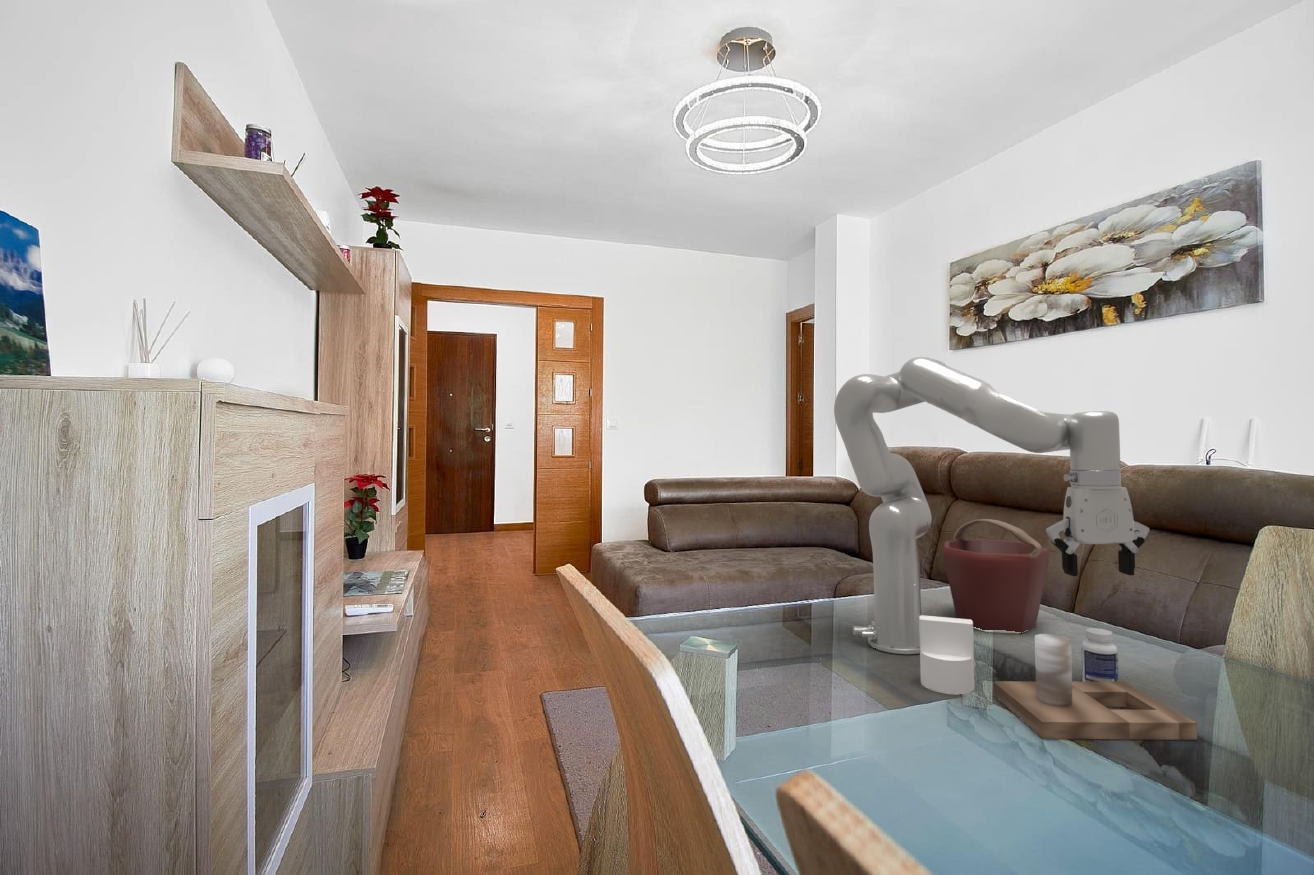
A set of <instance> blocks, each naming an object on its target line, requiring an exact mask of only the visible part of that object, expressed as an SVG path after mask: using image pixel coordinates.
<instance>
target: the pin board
mask: <svg viewBox="0 0 1314 875" xmlns="http://www.w3.org/2000/svg"><path fill="white" fill-rule="evenodd" d="M1034 658H1035V664H1034V665H1035V680H1034V681H1032V680H1030V681H1029V680H1028V681H1026V680H1025V681H1022V680H1021V681H1019V680H1018V681H1017V680H1016V681H1013V680H1012V681H1011V680H1010V681H1007V680H1003V681H1002V680H1001V681H1000V680H999V681H998V680H997V681H993V682H992V689H993V690H992V691H993V694H992V695H995V698H996V699H997V698H998V699H1000V701H1001V702H1002V703H1004V704H1005V705H1006V706H1007V707H1008V708H1010V710H1011V711H1010V710H1009V711H1010V712H1011V713H1012V714H1014V713H1015V714H1016V715H1017V716H1018V717H1020V718H1021V719H1020V718H1019V719H1020V720H1021V721H1022V723H1024V722H1025V723H1026V724H1025V723H1024V724H1025V725H1027V726H1028V727H1029V726H1030V727H1031V728H1032V729H1033V730H1034V732H1035V733H1036V734H1037V735H1038V736H1039V737H1040V738H1041V739H1043V740H1044V739H1045V740H1048V739H1050V740H1051V739H1052V740H1158V741H1160V740H1162V741H1163V740H1164V741H1165V740H1173V741H1175V740H1176V741H1177V740H1178V741H1180V740H1183V741H1185V740H1186V741H1188V740H1189V741H1192V740H1193V741H1197V740H1198V733H1197V731H1198V728H1197V722H1196V721H1194V720H1192V719H1190V718H1189V717H1187V716H1185V715H1183V714H1182V713H1180V712H1178V711H1177V710H1175V709H1173V708H1171V707H1169V706H1168V705H1165V704H1164V703H1162V702H1160V701H1159V700H1157V699H1155V698H1154V697H1152V696H1151V695H1148V694H1147V693H1145V692H1143V691H1141V690H1140V689H1138V688H1136V687H1134V686H1133V685H1131V684H1130V683H1128V682H1126V681H1118V682H1093V681H1083V680H1081V681H1073V676H1072V675H1073V673H1072V672H1073V668H1072V666H1073V665H1072V664H1073V663H1072V640H1071V639H1070V638H1068V637H1066V636H1063V635H1057V634H1052V633H1051V634H1050V633H1039V634H1035V635H1034ZM998 699H997V700H998ZM1000 701H999V702H1000ZM1001 702H1000V703H1001ZM1002 703H1001V704H1002ZM1004 704H1003V705H1004ZM1005 705H1004V706H1005ZM1006 706H1005V707H1006ZM1007 707H1006V708H1007ZM1008 708H1007V709H1008ZM1109 708H1128V709H1109ZM1015 714H1014V715H1015ZM1016 715H1015V716H1016ZM1017 716H1016V717H1017ZM1030 727H1029V728H1030ZM1031 728H1030V729H1031ZM1032 729H1031V730H1032ZM1033 730H1032V731H1033Z"/></svg>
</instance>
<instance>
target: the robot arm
mask: <svg viewBox="0 0 1314 875" xmlns="http://www.w3.org/2000/svg"><path fill="white" fill-rule="evenodd" d="M924 402H925V403H927V404H930V405H932V406H934V407H936V408H939V409H941V410H942V411H945V412H946V413H948V414H950V415H953V416H955V417H957V418H959V419H961V420H962V421H965V422H967V423H968V424H970V425H973V426H975V427H977V428H979V429H980V430H982V431H985V432H987V433H988V434H991V436H994V437H996V438H998V439H1000V440H1003V441H1005V442H1007V443H1009V444H1011V445H1013V446H1015V447H1018V448H1020V449H1022V450H1025V451H1027V452H1029V453H1035V454H1044V453H1053V452H1058V451H1067V450H1068V451H1069V466H1070V469H1069V473H1064V475H1063V481H1064V482H1069V484H1070V486H1068V487H1067V489H1066V493H1065V498H1064V504H1063V515H1062V516H1063V519H1062V520H1060V521H1058V522H1055V523H1054V524H1052V525H1050V526H1049V527H1047V528H1046V529H1045V532H1046V534H1047V536H1048V538H1049V539H1050V541H1051V544H1053V545H1054V547H1056V548H1057V549H1058V551H1059V552H1061V567H1062V570H1063V572H1064V573H1063V574H1065V575H1068V576H1071V577H1077V576H1078V574H1079V572H1078V571H1079V568H1078V566H1079V565H1078V555H1077V553H1075V551H1076V550H1077V548H1079V546H1080V545H1081V544H1084V545H1115V544H1116V545H1118V547H1120V548H1119V549H1121V550H1118V551H1117V555H1118V558H1117V560H1118V572H1119V573H1121V574H1125V575H1128V576H1134V575H1135V568H1136V559H1135V558H1136V553H1138V552H1139V548H1141V547H1142V545H1143V544H1144V543H1146V542H1145V539H1146V538H1147V536H1148V534H1149V532H1150V527H1148V526H1147V525H1144V524H1142V523H1140V522H1138V521H1135V520H1134V514H1133V513H1134V512H1133V508H1132V502H1131V499H1130V495H1129V492H1128V489H1127V487H1126V486H1124V487H1123V486H1122V474H1121V472H1122V470H1121V469H1122V468H1121V442H1120V439H1121V437H1120V420H1119V416H1118V414H1117V413H1115V412H1113V411H1109V410H1108V411H1107V410H1105V411H1103V410H1101V411H1082V412H1076V413H1073V414H1068V413H1067V414H1066V413H1055V412H1054V413H1053V412H1044V411H1042V410H1039V409H1037V408H1036V407H1033V406H1030V405H1028V404H1025V403H1023V402H1020V401H1018V400H1015V399H1014V398H1012V397H1009V396H1007V395H1005V394H1003V393H1001V392H999V391H997V390H996V389H995V388H994V387H993V386H992V385H991V384H989V383H988V382H987V381H984V380H982V379H980V378H978V377H974V376H973V375H970V374H967V373H964V372H963V371H960V370H957V369H956V368H953V367H951V366H949V365H947V364H946V363H945V362H943V361H941V360H938V359H934V358H930V357H926V356H917V357H914V358H911V359H909V360H907V361H906V362H904V364H903V365H902V367H901V368H900V370H899V371H898V372H895V373H894V372H893V373H891V374H888V375H885V376H883V375H877V374H870V373H869V374H868V373H865V374H864V373H862V374H858V375H855V376H853V377H851V378H850V379H848V380H847V381H846V382H845V383H844V384H843V385H842V387H840V389H839V391H838V392H837V395H836V397H835V400H834V408H833V414H834V420H835V423H836V426H837V429H838V432H839V434H840V437H841V439H842V442H843V444H844V447H845V450H846V454H847V456H848V458H849V461H850V464H851V466H852V469H853V472H854V475H855V478H856V480H857V482H858V485H859V487H860V489H861V490H862V491H863V492H864V493H865V494H866V495H868V496H870V497H875V498H876V497H878V498H879V497H881V500H882V503H881V504H879V505H878V506H877V507H876V508H875V509H874V510H873V511H872V513H871V515H870V518H869V520H868V521H869V522H868V523H869V524H868V529H869V530H868V532H869V538H870V543H871V550H872V551H871V552H872V562H873V564H872V565H873V566H872V567H873V568H872V569H873V570H872V571H873V593H874V594H873V595H874V598H873V599H874V600H873V601H874V605H873V606H874V620H871V621H870V624H867V625H866V626H862V625H853V626H852V634H853V636H861V638H867V643H868V645H869V644H870V645H871V646H870V645H869V646H870V647H872V648H873V649H875V648H876V649H875V650H878V651H881V652H884V653H889V654H895V655H896V654H898V655H918V654H920V631H919V617H920V616H921V615H922V602H921V601H922V600H921V595H922V594H921V566H920V565H921V564H920V556H919V555H920V554H919V550H918V545H917V539H918V538H921V537H923V536H924V535H925V534H927V532H928V531H929V530H930V528H931V526H932V522H933V521H932V512H931V508H930V506H929V503H928V500H927V499H926V496H925V493H924V491H923V489H922V486H921V483H920V480H919V479H918V476H917V474H916V471H915V469H914V468H913V466H912V464H911V463H910V461H909V460H907V459H906V458H905V457H904V456H902V455H900V454H897V453H893V452H890V450H889V447H888V445H887V443H886V440H885V438H884V435H883V432H882V430H881V429H880V427H879V425H878V424H877V422H876V419H874V414H875V413H877V414H886V413H891V412H895V411H897V410H902V409H904V408H909V407H911V406H915V405H918V404H919V405H920V404H922V403H924ZM1062 531H1063V536H1064V537H1065V538H1064V539H1061V536H1060V532H1062Z"/></svg>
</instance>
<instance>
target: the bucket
mask: <svg viewBox="0 0 1314 875" xmlns="http://www.w3.org/2000/svg"><path fill="white" fill-rule="evenodd" d="M981 523H982V524H983V523H987V524H991V525H994V526H995V527H998V528H1001V529H1003V530H1004V531H1007V532H1009V533H1011V535H1013V536H1014V537H1015V538H1016V539H1017V540H1018V541H1011V540H999V539H998V540H997V539H985V538H976V539H975V538H974V539H972V538H971V539H966V538H965V536H966V535H967V534H968V532H969V531H970V530H971V529H972V528H973V527H975V526H977V525H979V524H981ZM1049 558H1050V556H1049V548H1045V547H1042V545H1041V543H1040V542H1038V541H1037V540H1036V539H1035V538H1033V537H1031V536H1030V535H1029V534H1028V533H1027V532H1025V530H1023V529H1021V528H1019V527H1018V526H1017V527H1016V526H1014V525H1012V524H1010V523H1008V522H1005V521H1001V520H998V519H990V518H982V519H981V518H980V519H978V518H977V519H973V520H971V521H970V520H969V521H968V522H965V523H964V524H962V525H961V526H960V527H958V528H957V530H956V531H955V533H954V534H953V540H945V541H944V545H943V562H944V566H945V571H946V576H947V579H948V580H947V581H948V586H949V589H950V594H951V598H952V602H953V608H954V611H955V615H956V617H955V618H958V619H970V620H972V621H973V627H976V628H980V629H982V630H1006V631H1015V632H1021V633H1022V632H1024V631H1026V630H1029V631H1031V630H1033V629H1035V628H1036V627H1037V620H1038V616H1039V612H1040V606H1041V602H1042V597H1043V592H1044V587H1045V582H1046V578H1047V572H1048V566H1049V563H1050V560H1049Z"/></svg>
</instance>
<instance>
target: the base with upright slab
mask: <svg viewBox="0 0 1314 875" xmlns="http://www.w3.org/2000/svg"><path fill="white" fill-rule="evenodd" d="M919 631H920V653H919V665H920V667H919V668H920V669H919V670H920V673H919V674H920V684H921V685H922V686H923V687H924V688H926V689H927V690H930V691H933V692H937V693H940V694H945V695H953V696H954V695H957V696H958V695H959V694H962V695H967V694H972V693H973V692H974V691H975V655H974V654H975V653H974V652H975V650H974V629H973V621H972V620H970V619H958V618H957V617H947V616H934V615H925V614H924V615H923V614H921V616H920V617H919ZM973 690H974V691H973ZM972 691H973V692H972ZM959 696H960V695H959Z"/></svg>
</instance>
